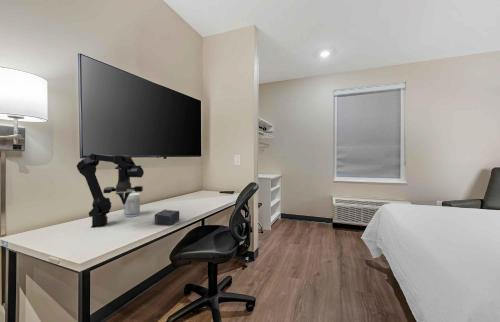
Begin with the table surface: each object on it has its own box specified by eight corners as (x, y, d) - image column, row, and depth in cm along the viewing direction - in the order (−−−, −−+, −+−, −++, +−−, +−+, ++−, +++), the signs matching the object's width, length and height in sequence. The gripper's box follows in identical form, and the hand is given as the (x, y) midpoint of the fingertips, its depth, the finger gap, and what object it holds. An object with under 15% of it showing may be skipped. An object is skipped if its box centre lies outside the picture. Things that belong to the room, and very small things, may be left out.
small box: (154, 225, 122) (170, 226, 120) (154, 214, 121) (170, 215, 119) (164, 219, 132) (179, 220, 130) (164, 209, 132) (179, 210, 129)
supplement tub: (123, 215, 141) (123, 193, 141) (138, 213, 147) (138, 192, 147) (124, 218, 134) (124, 196, 133) (141, 216, 139) (141, 194, 139)
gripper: (100, 179, 106) (100, 209, 106) (140, 178, 112) (140, 206, 113) (106, 177, 116) (106, 204, 116) (143, 176, 123) (143, 202, 123)
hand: (124, 204), depth 117 cm, fingers closed
